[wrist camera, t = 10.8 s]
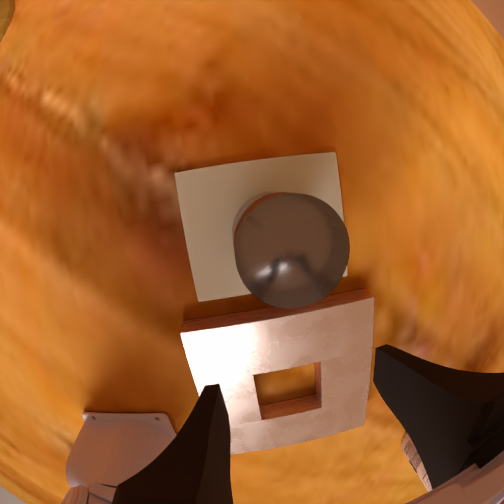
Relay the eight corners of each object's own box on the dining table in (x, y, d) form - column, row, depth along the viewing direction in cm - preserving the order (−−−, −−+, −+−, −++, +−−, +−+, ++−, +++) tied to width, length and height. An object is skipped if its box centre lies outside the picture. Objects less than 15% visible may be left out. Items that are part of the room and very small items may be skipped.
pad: (198, 299, 21) (198, 302, 20) (175, 173, 19) (174, 172, 18) (344, 273, 21) (347, 275, 21) (333, 152, 19) (335, 151, 19)
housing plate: (220, 440, 24) (220, 455, 22) (183, 320, 21) (180, 333, 19) (357, 412, 25) (364, 424, 23) (362, 288, 22) (374, 297, 20)
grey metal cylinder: (237, 267, 20) (245, 317, 12) (226, 197, 19) (225, 203, 11) (306, 255, 20) (352, 296, 12) (297, 186, 19) (343, 186, 11)
